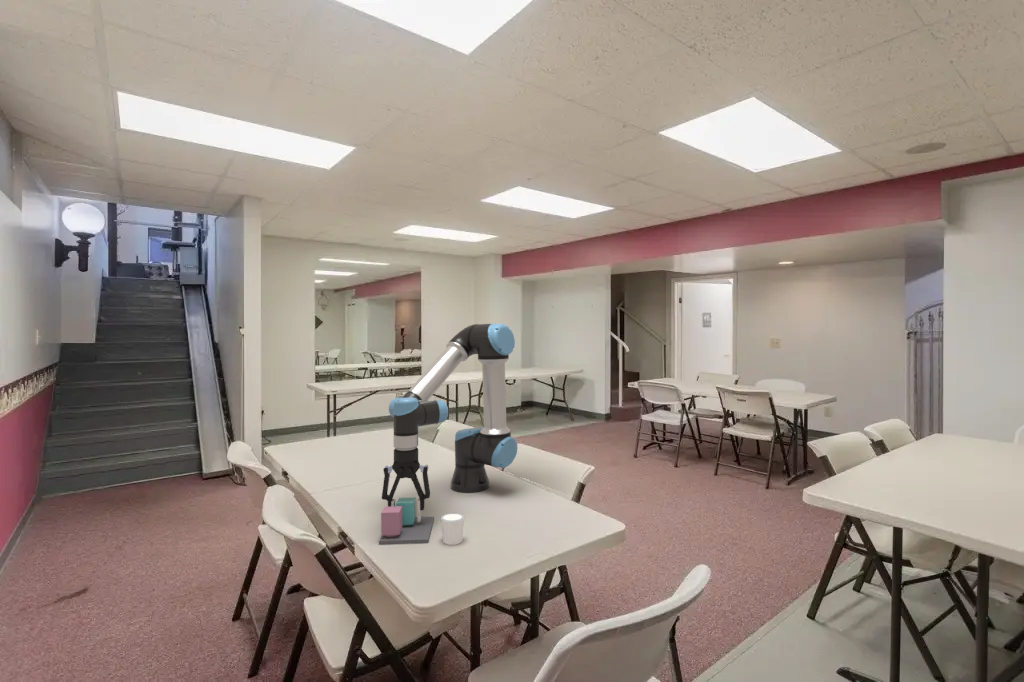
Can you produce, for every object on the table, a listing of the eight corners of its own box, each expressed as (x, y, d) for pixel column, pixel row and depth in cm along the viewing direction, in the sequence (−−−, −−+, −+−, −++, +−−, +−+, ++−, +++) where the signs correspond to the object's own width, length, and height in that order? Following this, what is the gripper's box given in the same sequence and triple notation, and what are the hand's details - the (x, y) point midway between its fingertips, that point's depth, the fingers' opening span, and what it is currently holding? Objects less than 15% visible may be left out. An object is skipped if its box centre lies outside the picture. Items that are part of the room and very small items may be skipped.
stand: (434, 519, 156) (433, 493, 156) (428, 542, 138) (427, 513, 138) (390, 520, 155) (390, 494, 155) (378, 544, 137) (378, 514, 137)
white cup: (453, 534, 144) (452, 511, 144) (469, 540, 140) (469, 516, 140) (435, 541, 139) (435, 517, 139) (452, 548, 135) (452, 523, 135)
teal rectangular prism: (415, 518, 152) (415, 497, 152) (413, 524, 147) (413, 502, 147) (399, 518, 152) (398, 497, 152) (396, 524, 147) (396, 503, 147)
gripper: (439, 444, 154) (439, 515, 154) (375, 445, 153) (376, 517, 153) (437, 449, 146) (437, 524, 147) (370, 451, 145) (370, 526, 145)
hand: (406, 520), depth 150 cm, fingers open, 7 cm apart
